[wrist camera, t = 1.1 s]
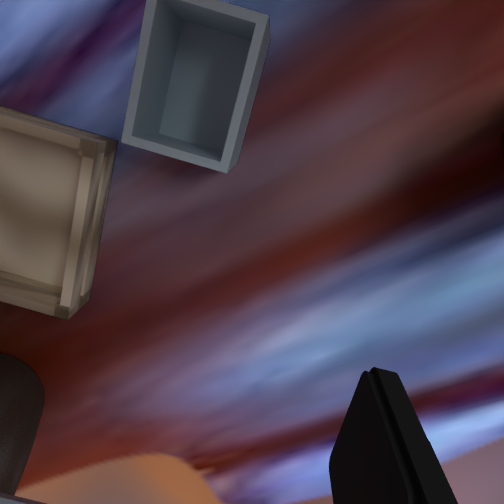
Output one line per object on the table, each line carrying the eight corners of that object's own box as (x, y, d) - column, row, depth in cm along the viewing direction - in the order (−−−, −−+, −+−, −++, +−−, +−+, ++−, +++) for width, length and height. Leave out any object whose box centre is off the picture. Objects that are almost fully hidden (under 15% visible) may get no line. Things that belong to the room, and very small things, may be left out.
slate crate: (178, 10, 26) (150, -21, 20) (270, 38, 26) (268, 15, 21) (152, 138, 29) (121, 142, 23) (237, 163, 29) (226, 173, 23)
